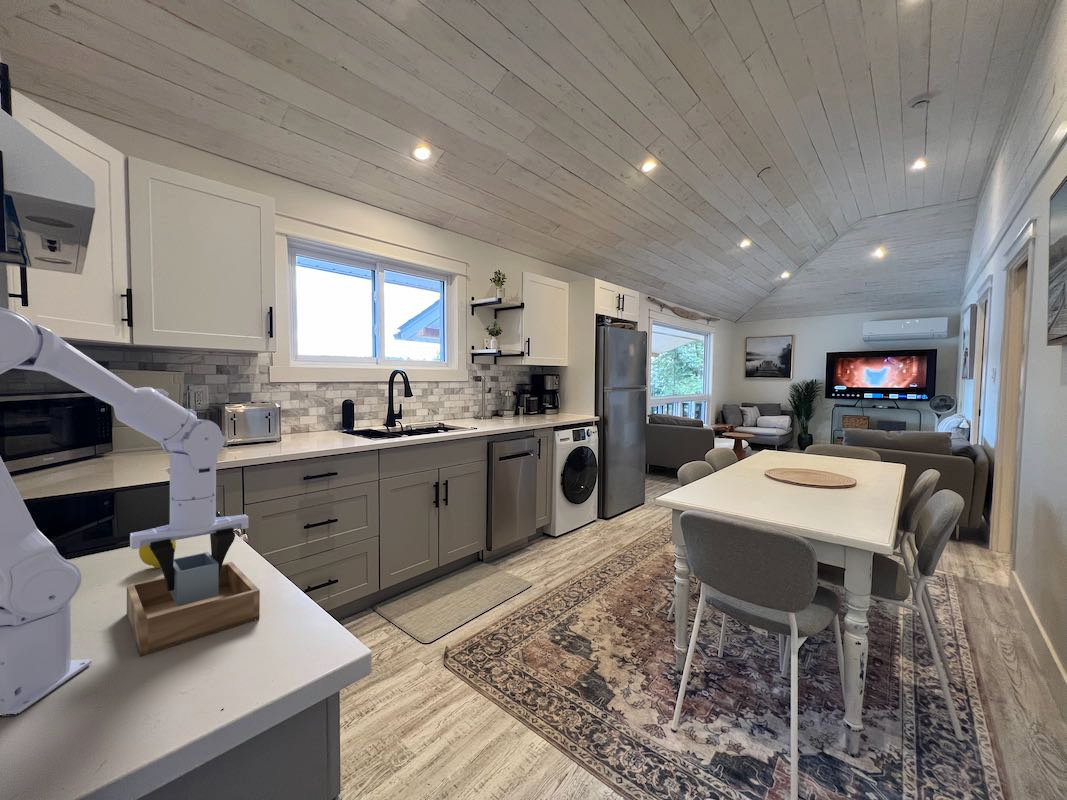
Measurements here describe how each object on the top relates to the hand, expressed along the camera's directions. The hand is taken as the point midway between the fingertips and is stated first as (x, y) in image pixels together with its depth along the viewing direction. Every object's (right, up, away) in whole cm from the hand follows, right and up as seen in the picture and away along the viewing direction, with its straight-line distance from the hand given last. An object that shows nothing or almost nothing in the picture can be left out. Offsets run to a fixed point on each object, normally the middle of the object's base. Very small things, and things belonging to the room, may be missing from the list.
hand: (193, 583), depth 70 cm
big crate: (0, -5, 0) cm, 5 cm away
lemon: (-21, -5, +18) cm, 28 cm away
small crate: (0, -2, 0) cm, 2 cm away
